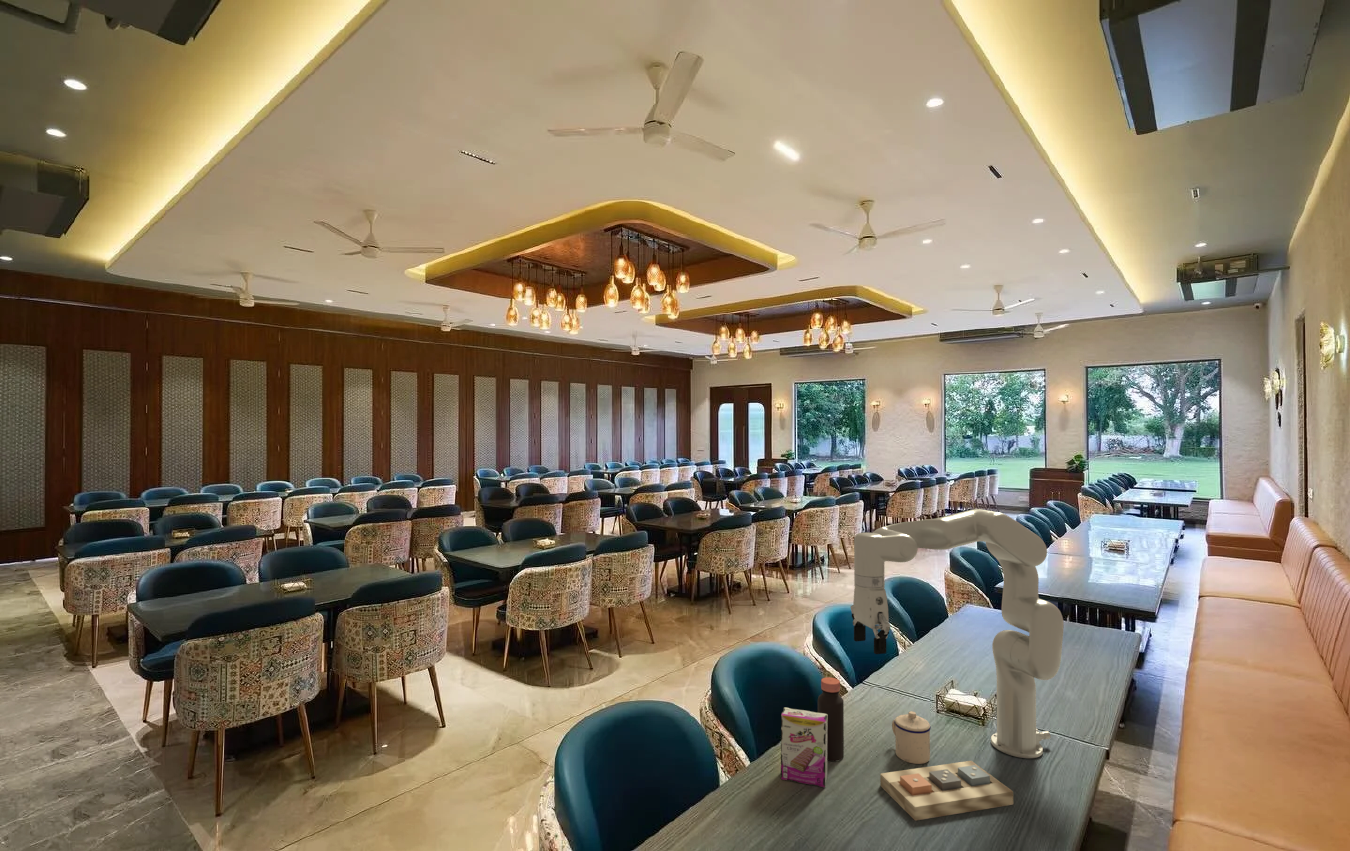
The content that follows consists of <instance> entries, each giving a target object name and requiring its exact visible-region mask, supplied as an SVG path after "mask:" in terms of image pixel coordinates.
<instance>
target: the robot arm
mask: <svg viewBox="0 0 1350 851" xmlns="http://www.w3.org/2000/svg"><path fill="white" fill-rule="evenodd" d="M853 542H854V543H853V547H854V548H853V549H854V550H853V552H854V554H853V555H854V556H853V559H854V560H853V561H854V563H853V566H854V567H853V569H854V570H853V571H854V572H853V573H854V574H853V575H854V576H853V578H854V580H853V581H854V583H853V584H854V585H853V586H854V590H853V604H852V605H850V611H851V618H852V625H853V640H854V642H865V641H866V640H867V639H866V638H867V637H866V635H867V634H866V632H867V631H866V627H867V628H869V629H872V631H873V633H874V637H873V653H874V654H875V655H883V654H884V655H885V654H887V639H888V636H889V634H890V629H891V623H890V622H889V605H888V599H887V598H888V597H887V593H886V592H887V591H886V588H885V585H886V584H885V581H886V580H885V577H886V576H885V562H893V563H894V562H895V563H908V562H911V561H912V560H913V559H914V558H915V557H916V555H917V553H918V549H924V550H925V549H927V550H935V551H937V550H938V551H942V550H943V551H944V550H946V551H947V550H951V549H954V548H957V547H962V546H965V545H969V544H973V543H977V542H984V543H985V545H986V548H987V550H988V551H989V553H990V555H992V556H993V557H994V558H996V560H997V561H998V562H999V565H1000V566H1001V568H1002V572H1003V586H1002V599H1001V617H1002V619H1003V620H1004V621H1005V622H1006V624H1008V625H1010V626H1012V627H1014V628H1017V629H1020V630H1022V631H1025V632H1027V633H1029V635H1027V634H1025V633H1023V632H1019V631H1017V630H1013V629H1005V630H1000V631H998V632H997V633H996V634H995V636H994V637H993V639H992V640H993V641H992V646H991V647H992V655H993V660H994V665H995V671H996V673H995V674H996V732H995V733H993V734H992V735H991V736H990V743H991V745H992V747H994V748H995V749H997V750H998V751H1000V752H1002V753H1004V754H1005V755H1009V756H1013V757H1016V758H1021V759H1022V758H1023V759H1036V758H1039V757H1041V756H1042V755H1043V753H1044V748H1043V745H1042V744H1040V742H1041V741H1043V740H1050V739H1051V734H1050V732H1049V731H1048V730H1047V731H1040V732H1039V729H1038V728H1037V687H1036V686H1037V685H1036V681H1035V679H1036V680H1041V681H1048V680H1051V679H1053V678H1054V677H1056V676H1057V673H1058V672H1059V670H1060V667H1061V666H1060V665H1061V663H1062V662H1061V661H1062V653H1063V652H1062V650H1063V640H1064V625H1065V624H1064V618H1063V615H1062V612H1061V610H1060V609H1059V608H1058V607H1057V606H1056V605H1055V604H1054V603H1052V602H1050V601H1047V600H1045V599H1042V598H1040V597H1039V583H1040V582H1039V573H1038V570H1037V566H1040V565H1041V564H1043V563H1044V561H1045V560H1046V558H1047V556H1048V555H1047V554H1048V549H1047V548H1048V547H1047V545H1046V543H1045V542H1044V540H1043V538H1041V537H1040V536H1039V535H1038V534H1036V533H1035V532H1033V531H1031V530H1030V529H1029V528H1028V527H1026V526H1024V525H1023V524H1022V523H1020V522H1018V521H1017V520H1015V519H1014V518H1013V517H1011V516H1009V515H1007V514H1005V513H1003V512H998V511H992V510H986V509H982V508H981V509H979V508H975V509H974V508H973V509H970V510H965V511H961V512H957V513H953V514H950V515H949V514H948V515H945V516H941V517H937V518H930V519H929V518H928V519H921V520H915V521H914V520H911V521H904V522H898V523H893V524H889V525H885V526H882V527H879V528H877V529H875V530H873V532H859V533H857V534H856V535H855V536H854V540H853ZM879 630H880V631H879Z"/></svg>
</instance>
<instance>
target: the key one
mask: <svg viewBox="0 0 1350 851" xmlns="http://www.w3.org/2000/svg"><path fill="white" fill-rule="evenodd" d="M900 785H901V786H902V787H903V788H905V789H906V790H907V791H908V792H909V793H910V794H911V795H912V796H914V795H920V794H927V793H932V785H931V784H930V783H929V782H928V781H927V780H925V779H924V778H923V777H922V776H921V775H920V774H919V773H918V774H911V775H904V776H900Z"/></svg>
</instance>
